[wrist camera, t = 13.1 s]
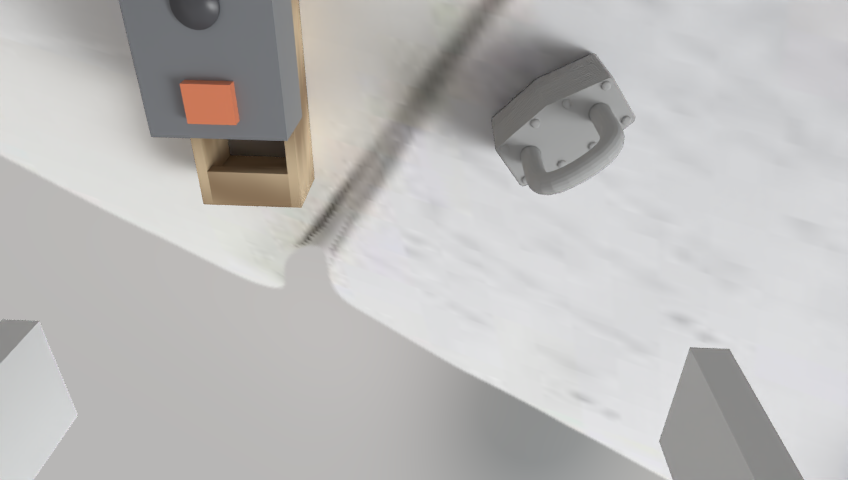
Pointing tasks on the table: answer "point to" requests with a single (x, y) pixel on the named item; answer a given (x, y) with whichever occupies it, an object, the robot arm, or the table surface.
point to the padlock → (563, 127)
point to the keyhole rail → (260, 160)
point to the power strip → (215, 67)
